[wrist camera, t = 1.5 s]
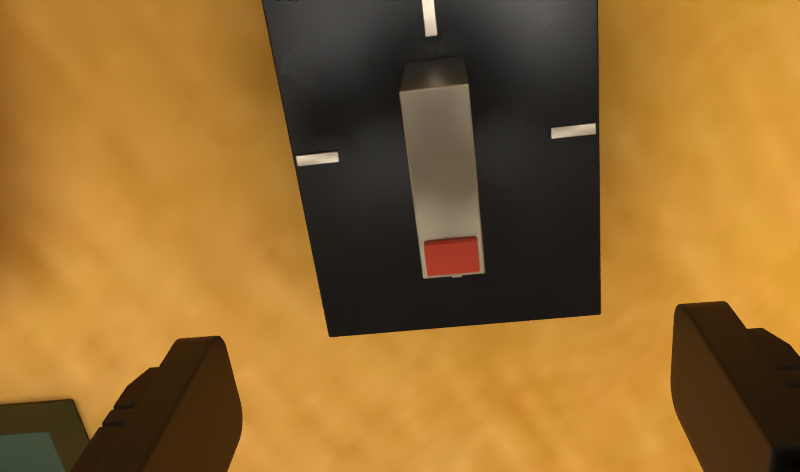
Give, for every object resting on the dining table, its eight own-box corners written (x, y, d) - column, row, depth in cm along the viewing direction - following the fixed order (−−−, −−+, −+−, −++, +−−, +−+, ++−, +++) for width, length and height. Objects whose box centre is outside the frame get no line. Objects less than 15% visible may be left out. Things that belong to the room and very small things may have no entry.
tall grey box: (405, 62, 21) (398, 94, 17) (463, 55, 21) (469, 85, 17) (425, 224, 24) (423, 283, 20) (477, 218, 23) (486, 277, 20)
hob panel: (269, -70, 23) (245, -69, 20) (577, -113, 22) (598, -119, 19) (339, 297, 28) (328, 340, 26) (584, 276, 27) (602, 317, 25)
